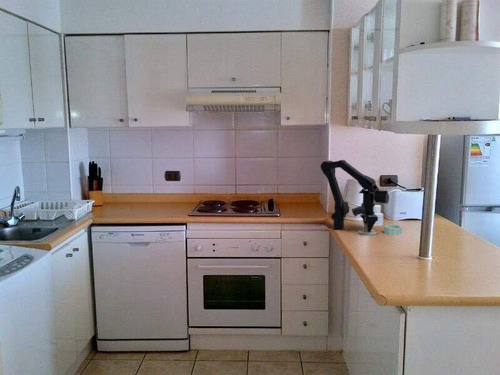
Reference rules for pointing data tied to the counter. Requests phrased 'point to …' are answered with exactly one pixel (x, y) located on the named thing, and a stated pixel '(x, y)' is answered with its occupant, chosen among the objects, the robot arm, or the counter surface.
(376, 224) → the medicine bottle
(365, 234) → the mat
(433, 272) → the counter surface
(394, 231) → the bowl
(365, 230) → the lid
